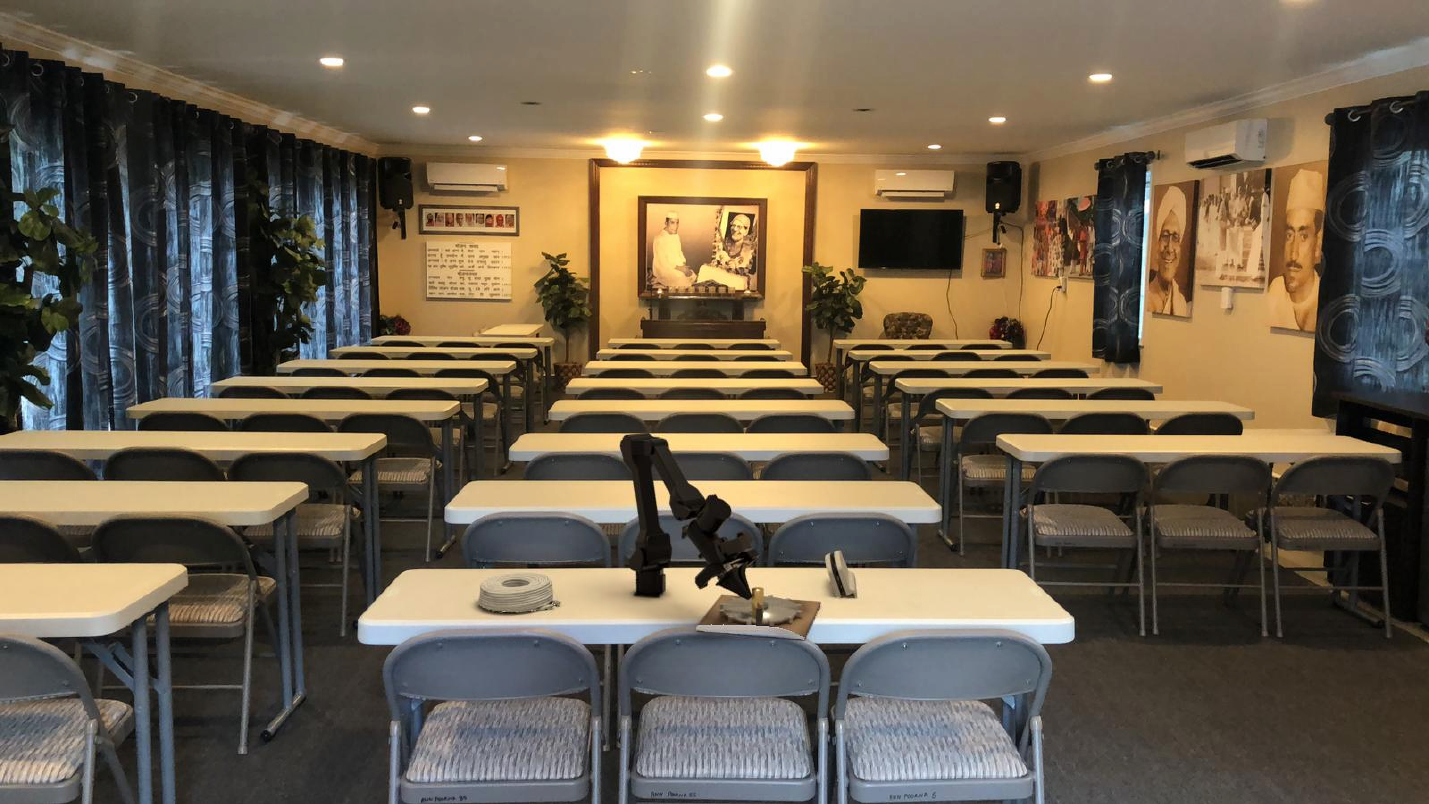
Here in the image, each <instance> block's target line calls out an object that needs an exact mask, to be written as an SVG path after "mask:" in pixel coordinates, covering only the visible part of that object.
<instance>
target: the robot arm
mask: <svg viewBox="0 0 1429 804" xmlns="http://www.w3.org/2000/svg"><path fill="white" fill-rule="evenodd" d="M619 450H620V452H621V456H622V460H623V462H624V464H625V465H626V466H627V468H628V469H629V470H630V471H631V477H632V482H633V490H634V497H635V503H636V504H635V505H636V511H637V518H638V525H639V526H638V527H639V532H638V533H637V536H636V540H635V542H634V544H635V551H634V552H633V553H632V556H630V558H629V559H628V564H629V569H630V570H631V571H633V572H635V591H634V592H633V596H635V597H636V596H637V597H647V598H648V597H649V598H650V597H651V598H660V597H661V595H662V594H664V593H665V592H666V590H667V577H666V576H667V575H666V574H665V572H664V571H665V570H664V569H669V568H670V565H671V561H672V560H671V559H672V555H673V546H672V543H671V535H670V533H669V532H665V530H663V528H662V527H661V525H660V524H661V523H660V517H659V509H658V503H657V498H656V490H655V484H654V475H653V466H654V467H655V469H656V471H657V473H658V475H659V477H660V478H661V480H662V482H663V484H664V485H665V487H666V490H667V492H668V495H669V499H668V501H669V502H668V505H669V507H670V511H671V514H672V515H673V517H674V519H675V520H676V521H678V522H684V521H690V522H689V523H687V524H685V525H683V526H682V527H681V530H682V531H681V539H682V540H685V539H687V538H688V539H689V541H691V542H692V544H693V545H694V547H695V548H696V549H697V550H698V552H699V554H698V555H697V557H698V558H699V560H703V559H704V560H705V561H706V564H707V565H706V566H704V568H702V569H701V571H700V572H699V573H698V574H697V575H695V577H694V584H695V585H696V587H697V588H698V590H703V589H705V588H707V587H708V586H709V582H710V581H711V580H712V579H713V578H714V579H715V578H716V579H717V580H718V581H717V582H716V583H715V586H716V587H721V588H723V589H725V590H727V591H730V592H732V593H733V594H734V595H736V596H741V597H742V598H744V599H746V600H749V599H751V598H752V590H751V587H750V585H749V583H748V579H747V576H746V572H747V571H746V569H747V568H748V567H750V565H751V564H752V563H754V561H756V559H758V558H759V557H760V554H759V552H758V551H757V550H756V549H755V548H753V546H752V544H751V543H753V536H751V534H750V532H748V531H747V530H746V529H745V530H741V531H739V532H737V533H736V537H735V538H733V539H730V540H729V538H727V536H722V537H721V536H720V534H719V533H717V532H719V531H720V530H721V528H722V527H723V526H724V525H725V524H726V522H727V521H728V520H729V518H730V517H731V515H732V507H731V505H730V504H729V503H728V502H727V501H725V500H724V499H722V498H720V497H718V495H717V494H716V493H714V494H708V495H707V496H706V498H705V497H704V495H703V494H702V493H701V491H700V489H699V488H698V487H696V486H695V485H692V484H691V483H689V482H688V480H687V478H686V476H685V474H684V473H683V471H682V469H681V468H680V466H679V464H678V462H677V460H676V458H675V456H674V455H673V453H672V451H671V449H670V445H669V442H668V440H667V439H666V438H663V437H660V436H652V434H651V433H650V432H641V433H639V432H638V433H630V434H625V435H624V436H622V439H621V440H620V442H619Z"/></svg>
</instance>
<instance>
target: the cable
mask: <svg viewBox="0 0 1429 804" xmlns="http://www.w3.org/2000/svg"><path fill="white" fill-rule="evenodd" d="M477 602H478V603H479V604H478V606H479V605H480V606H479V607H481V606H482V607H481V608H483V609H484V608H486V609H485V610H487V609H488V610H487V611H490V610H492V611H491V612H494V611H505V612H516V611H519V612H518V613H521V612H520V611H531V610H539V611H541V610H543V611H546V610H545V609H550V610H551V609H552V608H554V607H559V606H561V603H562V602H561V601H559V600H558V599H557V600H556V599H554V589H553V580H551V578H550V577H549V575H546V574H543V573H538V572H509V573H502V574H497V575H493V576H491V577H488V578H487V579H484V580H483V581H482V582H480V584H479V597H478V600H477ZM550 602H552V603H553V604H551V603H550ZM554 604H555V605H557V606H555V605H554ZM516 613H517V612H516Z"/></svg>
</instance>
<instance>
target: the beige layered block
mask: <svg viewBox="0 0 1429 804" xmlns="http://www.w3.org/2000/svg"><path fill="white" fill-rule="evenodd" d="M824 560H825V565H826V571H827V574H828V577H829V581H830V584H831V586H832V589H833V592H834V594H835V598H836V597H841V598H842V596H843V595H845V596H846V597H847V596H849V595H852V594H853V595H854V598H855V599H858V591H857V590H858V589H856V588H857V581H856V580H857V579H856V576H855V572H853V571H850V570H849V568H848V567H847V563H846V562H845V559H844V556H843V553H842V551H841V550H836V551H834V552H833V553H831V552H828V554H825V559H824Z"/></svg>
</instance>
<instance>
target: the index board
mask: <svg viewBox="0 0 1429 804" xmlns="http://www.w3.org/2000/svg"><path fill="white" fill-rule="evenodd" d="M730 598H736V599H737V598H742V597H741V596H739V595H736V594H734V595H733V594H720V596H719V597H718V598H717V600H716V601H715V602H714V603H713V605H712V606H711V607H710V608H709V610H708V611H706V613H705V615H704V616H703V618H702V619H701V620H700V621H699V622H698V623H697V625H711V624H712V625H723V624H724V625H747V624H743V623H738V622H732V623H731V622H728V618H726V617H725V616H719V610H721V609H719V604H720V603H727V602H728V601H730ZM791 602H793V603H795V604H801V605H802V610H799V611H802V617H796V618H795V619H793V623H787V622H785V623H781V624H774V626H772V627H779V628H783V629H786V630H789V631H792V632H794V633H795V634H798V635H800V636H803V637H805V639H806V638H807V636H808V633H809V631H810V629H811V627H812V625H813V623H814V621H813V620H815V619H816V617H817V615H818V612H819V610H820V608H821V606H820V605H822V603H821V602H822V601H815V600H814V601H813V600H803V599H802V600H801V599H791ZM817 611H818V612H817ZM816 614H817V615H816ZM815 616H816V617H815ZM756 626H769V625H762V607H761V605H758V607H757V608H756Z"/></svg>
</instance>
